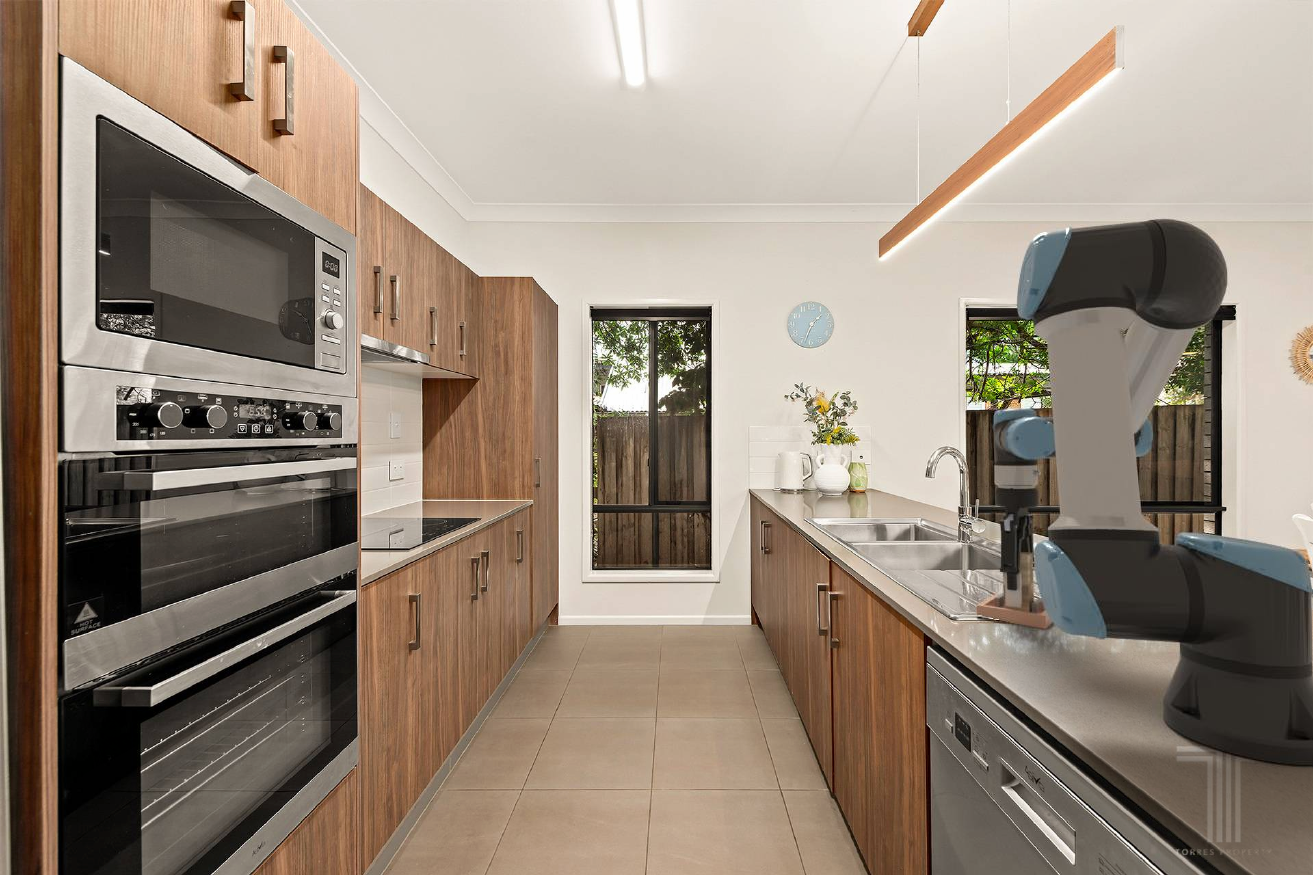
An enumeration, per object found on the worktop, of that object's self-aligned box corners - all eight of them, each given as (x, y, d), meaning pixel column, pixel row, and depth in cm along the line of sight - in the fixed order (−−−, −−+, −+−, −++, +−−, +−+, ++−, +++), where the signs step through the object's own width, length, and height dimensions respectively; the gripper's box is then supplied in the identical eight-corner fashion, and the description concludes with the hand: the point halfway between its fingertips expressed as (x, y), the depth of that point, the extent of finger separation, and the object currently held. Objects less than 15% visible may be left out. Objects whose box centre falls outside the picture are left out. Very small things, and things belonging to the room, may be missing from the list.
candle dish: (1045, 628, 118) (1045, 609, 118) (976, 617, 126) (976, 599, 126) (1061, 615, 127) (1061, 597, 127) (996, 605, 135) (995, 588, 135)
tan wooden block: (1029, 617, 124) (1027, 555, 124) (1003, 613, 127) (1002, 552, 127) (1034, 613, 126) (1032, 552, 126) (1009, 609, 129) (1007, 550, 129)
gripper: (1023, 490, 117) (1026, 616, 117) (1050, 484, 131) (1052, 596, 131) (979, 489, 122) (982, 609, 122) (1010, 483, 136) (1012, 591, 136)
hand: (1018, 602), depth 127 cm, fingers open, 6 cm apart
